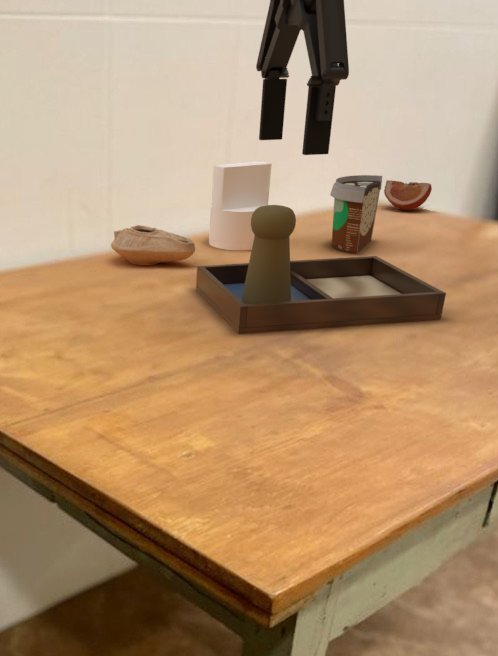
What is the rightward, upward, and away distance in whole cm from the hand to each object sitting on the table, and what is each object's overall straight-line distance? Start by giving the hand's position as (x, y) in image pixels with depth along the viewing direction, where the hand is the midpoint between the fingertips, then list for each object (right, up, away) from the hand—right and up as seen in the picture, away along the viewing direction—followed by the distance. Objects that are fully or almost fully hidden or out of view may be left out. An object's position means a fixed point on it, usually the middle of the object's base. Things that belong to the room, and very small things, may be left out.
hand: (291, 146), depth 94 cm
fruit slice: (+34, +16, +60) cm, 71 cm away
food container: (+15, 0, +34) cm, 38 cm away
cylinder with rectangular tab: (-1, +1, +36) cm, 36 cm away
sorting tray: (+4, -16, +8) cm, 19 cm away
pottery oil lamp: (-15, -6, +26) cm, 30 cm away
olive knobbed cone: (-2, -16, +7) cm, 18 cm away
